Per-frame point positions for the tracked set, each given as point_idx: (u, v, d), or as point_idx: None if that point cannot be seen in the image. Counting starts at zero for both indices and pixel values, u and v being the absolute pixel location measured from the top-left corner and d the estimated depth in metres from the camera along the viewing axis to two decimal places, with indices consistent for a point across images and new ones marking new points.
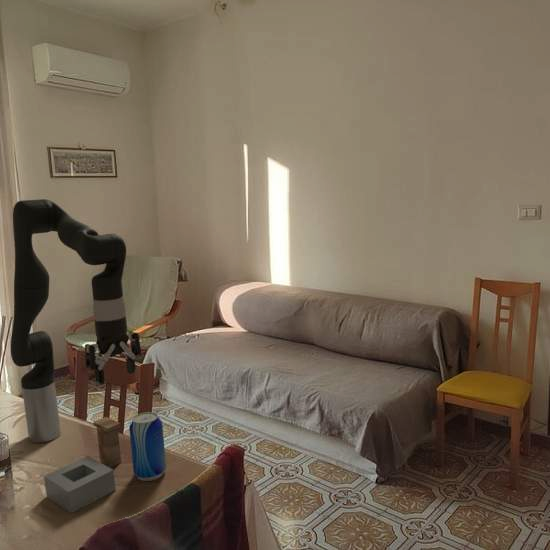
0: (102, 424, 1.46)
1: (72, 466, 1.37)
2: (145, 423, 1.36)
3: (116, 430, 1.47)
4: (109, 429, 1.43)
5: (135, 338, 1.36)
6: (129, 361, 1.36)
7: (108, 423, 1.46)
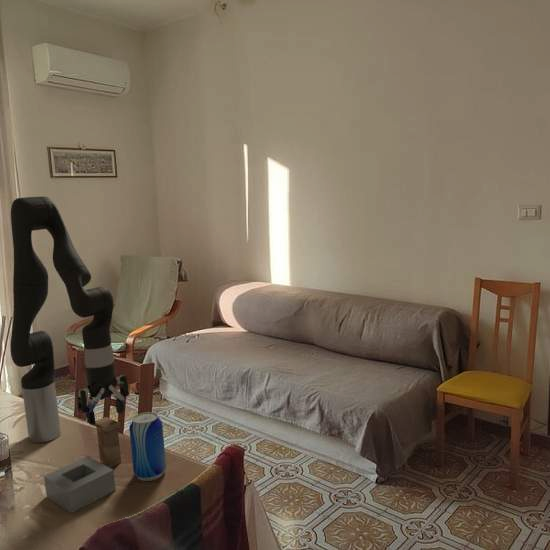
0: (102, 424, 1.46)
1: (72, 466, 1.37)
2: (145, 423, 1.36)
3: (116, 430, 1.47)
4: (109, 429, 1.43)
5: (123, 381, 1.48)
6: (118, 402, 1.48)
7: (108, 423, 1.46)
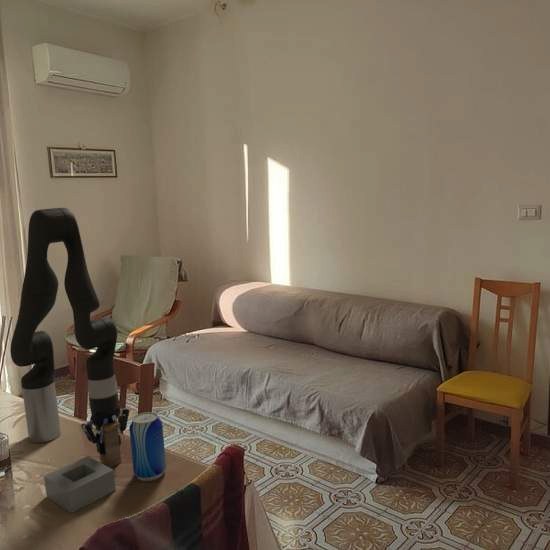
0: None
1: (72, 466, 1.37)
2: (145, 423, 1.36)
3: (116, 430, 1.47)
4: (109, 429, 1.43)
5: (125, 414, 1.50)
6: None
7: None
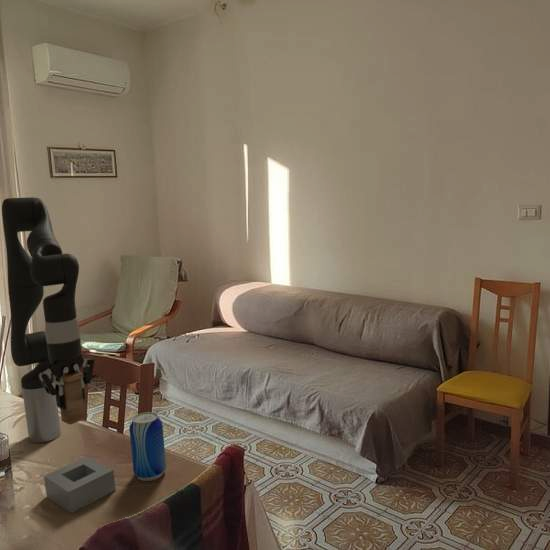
0: None
1: (72, 466, 1.37)
2: (145, 423, 1.36)
3: (79, 382, 1.29)
4: (70, 379, 1.26)
5: (90, 364, 1.32)
6: None
7: None
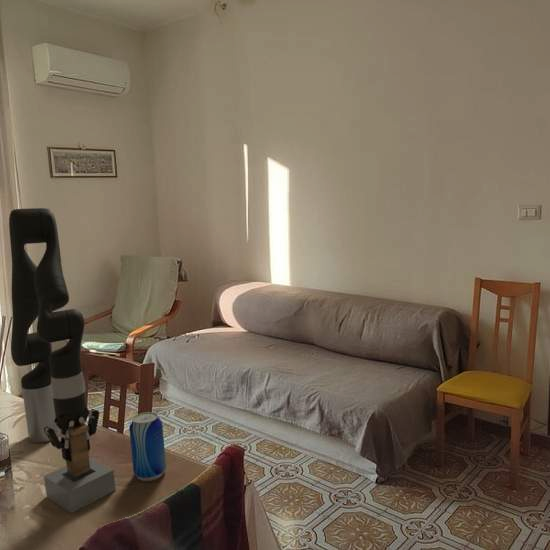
0: None
1: None
2: (145, 423, 1.36)
3: (84, 434, 1.31)
4: (75, 433, 1.28)
5: (95, 416, 1.34)
6: None
7: None
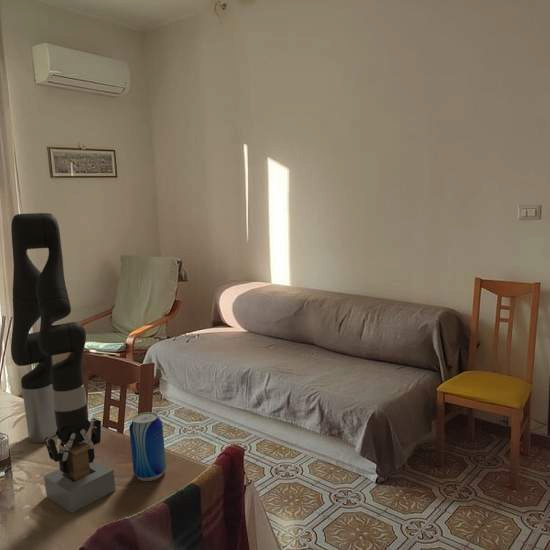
0: None
1: None
2: (145, 423, 1.36)
3: (86, 453, 1.32)
4: (77, 452, 1.29)
5: (97, 426, 1.35)
6: (88, 450, 1.34)
7: (76, 445, 1.32)
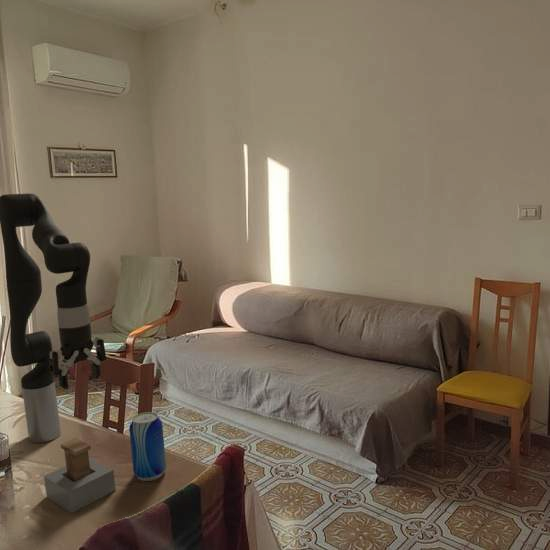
0: (71, 446, 1.31)
1: None
2: (145, 423, 1.36)
3: (86, 453, 1.32)
4: (77, 453, 1.29)
5: (100, 344, 1.39)
6: (94, 367, 1.39)
7: (77, 445, 1.32)
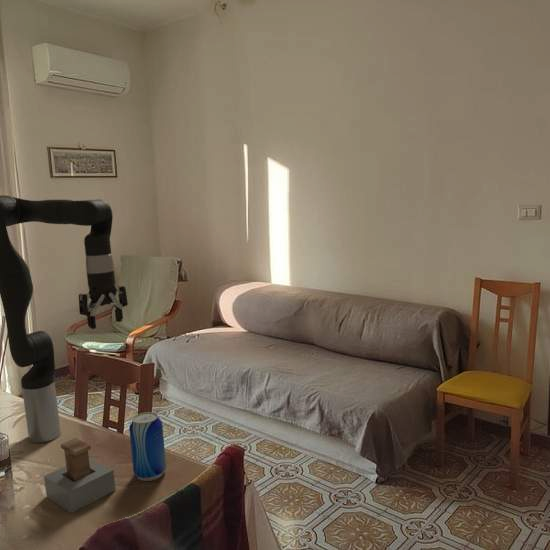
0: (71, 446, 1.31)
1: None
2: (145, 423, 1.36)
3: (86, 453, 1.32)
4: (77, 453, 1.29)
5: (122, 291, 1.58)
6: (117, 311, 1.58)
7: (77, 445, 1.32)
